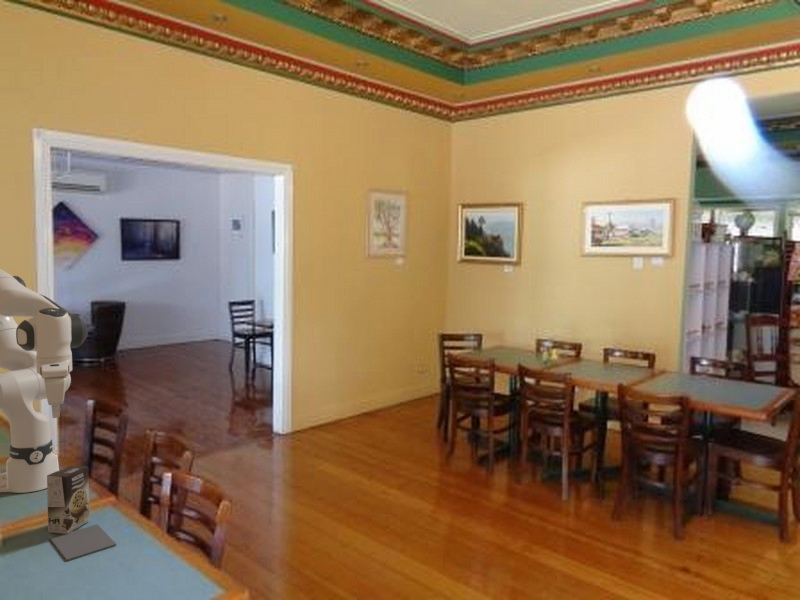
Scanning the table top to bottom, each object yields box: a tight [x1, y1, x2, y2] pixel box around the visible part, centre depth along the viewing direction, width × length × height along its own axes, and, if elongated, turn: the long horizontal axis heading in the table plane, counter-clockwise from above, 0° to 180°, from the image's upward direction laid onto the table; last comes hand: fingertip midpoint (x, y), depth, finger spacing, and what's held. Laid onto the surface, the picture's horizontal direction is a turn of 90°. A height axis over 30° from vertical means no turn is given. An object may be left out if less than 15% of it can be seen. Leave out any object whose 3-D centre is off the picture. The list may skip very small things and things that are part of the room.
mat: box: [49, 524, 117, 562], centre depth 161 cm, size 15×12×1 cm
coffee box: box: [46, 465, 91, 535], centre depth 168 cm, size 9×6×16 cm
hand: (55, 413), depth 171 cm, fingers open, 8 cm apart
